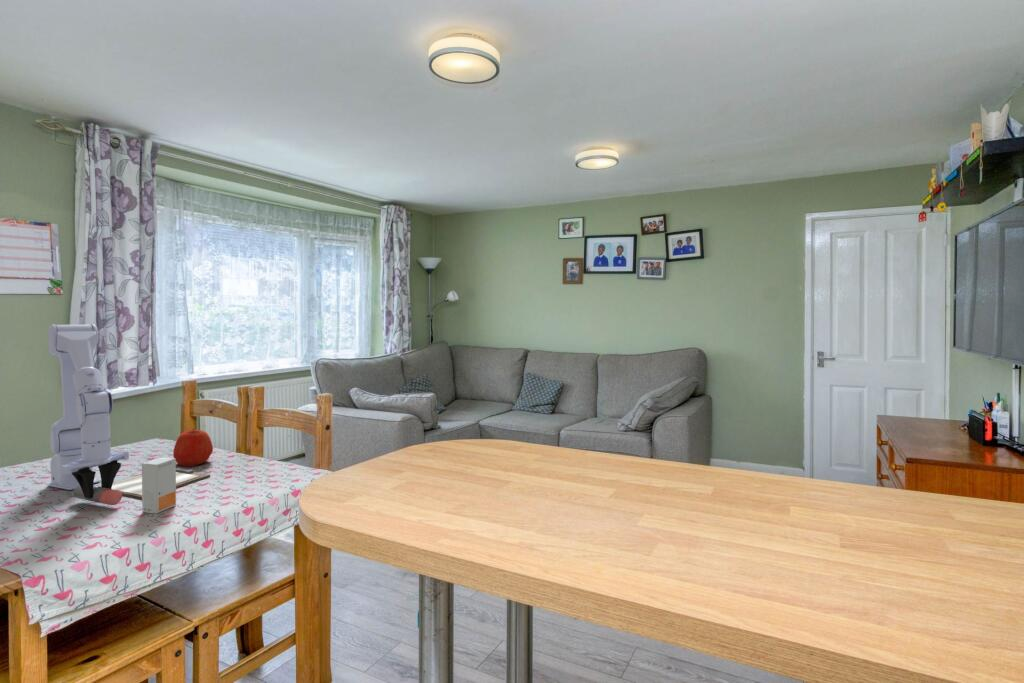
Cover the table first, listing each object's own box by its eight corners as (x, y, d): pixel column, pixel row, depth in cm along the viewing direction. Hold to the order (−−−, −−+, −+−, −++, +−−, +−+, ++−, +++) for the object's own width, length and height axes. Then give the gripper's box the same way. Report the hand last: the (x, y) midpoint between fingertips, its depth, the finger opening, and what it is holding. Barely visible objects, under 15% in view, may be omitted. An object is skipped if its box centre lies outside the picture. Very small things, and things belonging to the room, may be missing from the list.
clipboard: (94, 489, 146) (94, 485, 146) (165, 469, 165) (165, 465, 165) (142, 499, 140) (142, 494, 140) (210, 476, 159) (210, 472, 158)
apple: (220, 461, 173) (219, 428, 173) (185, 470, 164) (184, 435, 163) (201, 456, 179) (200, 424, 178) (166, 464, 170) (165, 430, 169)
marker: (74, 500, 137) (68, 489, 135) (88, 491, 140) (82, 480, 138) (110, 508, 132) (104, 496, 131) (124, 498, 135) (118, 486, 134)
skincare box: (157, 514, 130) (155, 464, 129) (141, 512, 131) (140, 463, 130) (177, 505, 136) (176, 457, 135) (162, 503, 137) (161, 456, 136)
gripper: (74, 449, 126) (76, 507, 127) (136, 435, 140) (137, 488, 141) (54, 446, 128) (56, 502, 129) (117, 433, 142) (118, 484, 143)
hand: (97, 494), depth 135 cm, fingers closed on marker, 4 cm apart
